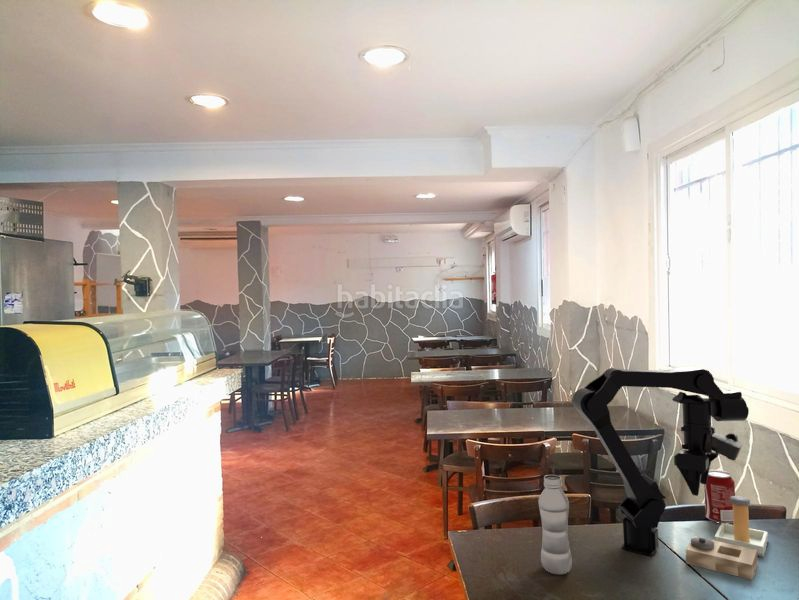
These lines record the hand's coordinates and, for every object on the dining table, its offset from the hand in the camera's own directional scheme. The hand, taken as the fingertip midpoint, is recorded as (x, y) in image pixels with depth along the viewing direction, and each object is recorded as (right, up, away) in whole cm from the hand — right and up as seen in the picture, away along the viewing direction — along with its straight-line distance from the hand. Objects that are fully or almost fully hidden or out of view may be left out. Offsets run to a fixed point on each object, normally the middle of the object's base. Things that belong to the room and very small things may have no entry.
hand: (699, 489), depth 121 cm
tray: (+10, -13, 0) cm, 16 cm away
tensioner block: (0, -13, -9) cm, 16 cm away
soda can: (+13, -13, +13) cm, 22 cm away
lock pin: (+10, -12, 0) cm, 15 cm away
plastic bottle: (-36, -15, -9) cm, 40 cm away
